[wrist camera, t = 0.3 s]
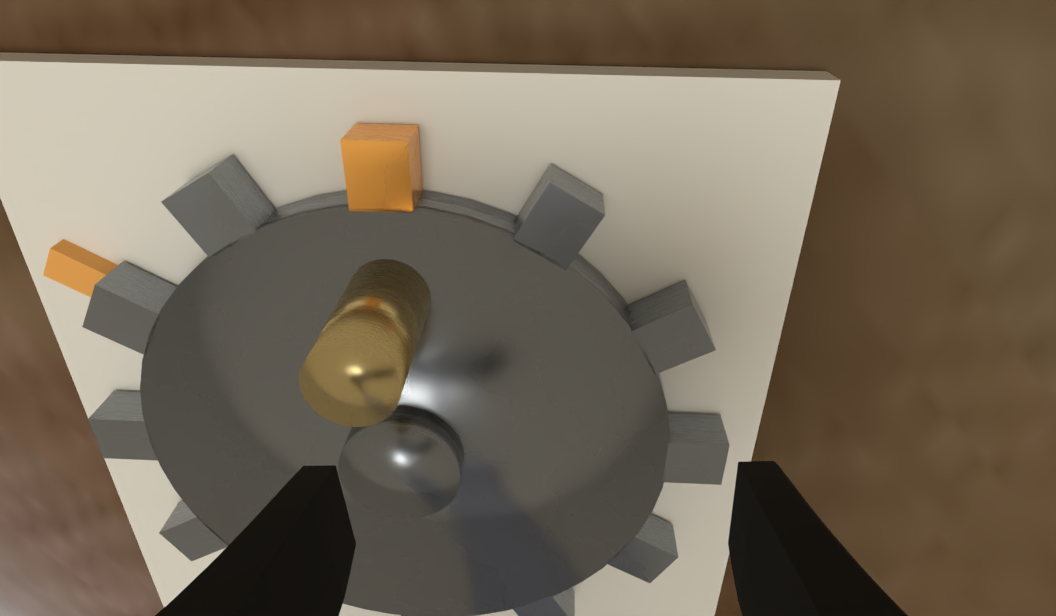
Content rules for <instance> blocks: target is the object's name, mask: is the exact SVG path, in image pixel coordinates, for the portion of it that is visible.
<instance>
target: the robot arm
mask: <svg viewBox="0 0 1056 616" xmlns="http://www.w3.org/2000/svg"><path fill="white" fill-rule="evenodd" d="M728 546H729V552H730V558H731V564H732V570H733V575H734V581H735V586H736V591H737V597H738V601H739V605H740V608H741V612H742V615H743V616H908V615H907V614H906V613H905V612H904V611H903V610H902V609H901V608H900V607H899V606H898V605H897V604H896V603H895V602H894V601H893V600H892V599H891V598H890V597H889V596H888V595H887V594H886V593H885V592H884V591H883V590H882V589H881V588H880V587H879V586H878V585H877V583H876V582H875V581H874V580H873V579H872V578H871V577H870V576H869V575H868V574H867V573H866V572H865V570H864V569H863V568H862V567H861V566H860V565H859V564H858V563H857V561H856V560H855V559H854V558H853V557H852V556H851V555H850V553H849V552H848V551H847V550H846V549H845V548H844V547H843V545H842V544H841V543H840V542H839V541H838V540H837V539H836V537H835V536H834V535H833V534H832V533H831V531H830V530H829V529H828V528H827V527H826V525H825V524H824V523H823V522H822V521H821V519H820V518H819V517H818V516H817V514H816V513H815V512H814V511H813V509H812V508H811V507H810V506H809V504H808V503H807V502H806V501H805V499H804V498H803V497H802V496H801V494H800V493H799V492H798V490H797V489H796V488H795V486H794V485H793V484H792V482H791V481H790V480H789V479H788V477H787V476H786V475H785V473H784V472H783V471H782V469H781V468H780V467H779V466H778V465H777V464H776V463H775V462H774V461H749V462H738V467H737V475H736V483H735V491H734V499H733V507H732V515H731V523H730V531H729V539H728ZM355 547H356V541H355V537H354V534H353V530H352V526H351V522H350V518H349V514H348V511H347V507H346V503H345V499H344V495H343V491H342V487H341V484H340V480H339V476H338V472H337V468H336V465H326V466H303V467H302V468H301V469H300V470H299V471H298V472H297V473H296V474H295V475H294V476H293V477H292V478H291V479H290V480H289V481H288V482H287V483H286V484H285V486H284V487H283V488H282V489H281V490H280V491H279V492H278V493H277V494H276V495H275V496H274V497H273V499H272V500H271V501H270V502H269V503H268V504H267V505H266V506H265V507H264V508H263V509H262V510H261V512H260V513H259V514H258V515H257V516H256V517H255V518H254V519H253V520H252V521H251V522H250V523H249V524H248V526H247V527H246V528H245V529H244V530H243V531H242V532H241V533H240V534H239V535H238V536H237V537H236V538H235V539H234V540H233V541H232V542H231V543H230V544H229V545H228V546H227V547H226V548H225V549H224V550H223V552H222V553H221V554H220V555H219V556H218V557H217V558H216V559H215V560H214V561H213V562H212V563H211V564H210V565H209V566H208V567H207V568H206V569H205V570H203V571H202V572H201V573H200V574H199V575H198V576H197V577H196V578H195V579H194V580H193V581H192V582H191V583H190V584H189V585H188V586H187V587H186V588H185V589H184V590H183V591H182V592H181V593H179V594H178V595H177V596H176V597H175V598H174V599H173V600H172V601H171V602H170V603H169V604H168V605H167V606H166V607H164V608H163V609H162V610H161V611H160V612H159V613H158V614H157V615H155V616H339V613H340V610H341V607H342V604H343V601H344V598H345V594H346V589H347V585H348V580H349V576H350V571H351V566H352V562H353V557H354V552H355Z"/></svg>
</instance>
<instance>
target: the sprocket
mask: <svg viewBox="0 0 1056 616" xmlns="http://www.w3.org/2000/svg"><path fill="white" fill-rule="evenodd" d="M340 143H341V151H342V159H343V167H344V174H345V182H346V191H340V192H334V193H328V194H322V195H316V196H313V197H310V198H307V199H303V200H300V201H297V202H294V203H290V204H287V205H284V206H281V207H279V208H277V209H275V208H274V207H273V206H272V205H271V203H270V202H269V201H268V200H267V198H266V197H265V196H264V194H263V193H262V192H261V191H260V189H259V188H258V187H257V186H256V184H255V183H254V182H253V180H252V179H251V178H250V177H249V175H248V174H247V173H246V171H245V170H244V169H243V168H242V166H241V165H240V164H239V163H238V161H237V160H236V159H235V157H234V156H233V155H232V154H231V155H230V156H228V157H227V158H225V159H223V160H222V161H220V162H219V163H217V164H215V165H214V166H212V167H210V168H209V169H207V170H206V171H204V172H202V173H201V174H199V175H197V176H196V177H194V178H193V179H191V180H189V181H188V182H186V183H185V184H184V185H182V186H181V187H180V188H178V189H177V190H176V191H174V192H173V193H172V194H171V195H169V196H168V197H167V198H165V199H164V200H163V201H161V202H162V204H163V205H164V206H165V207H166V208H167V209H168V211H169V212H170V213H171V214H172V215H173V216H174V217H175V219H176V220H177V221H178V222H179V223H180V224H181V226H182V227H183V228H184V229H185V230H186V231H187V233H188V234H189V235H190V236H191V237H192V238H193V239H194V241H195V242H196V243H197V244H198V245H199V246H200V248H201V249H202V250H203V251H204V252H205V253H206V255H207V257H206V258H204V259H203V260H202V261H201V262H200V263H199V264H198V265H197V266H196V267H195V268H194V269H193V270H192V272H191V273H190V274H189V275H188V276H187V277H186V278H185V279H184V280H183V281H182V282H181V283H180V284H179V285H178V286H177V287H176V286H174V285H172V284H170V283H168V282H166V281H164V280H162V279H160V278H158V277H156V276H153V275H151V274H149V273H147V272H145V271H143V270H141V269H139V268H137V267H135V266H133V265H130V264H128V263H126V262H124V261H123V262H122V263H120V264H119V265H118V266H117V267H116V268H114V269H113V270H112V271H111V272H109V273H108V274H107V275H106V276H105V277H103V278H102V279H101V280H100V281H99V282H97V283H96V284H95V286H94V289H93V293H92V296H91V299H90V303H89V306H88V309H87V313H86V316H85V319H84V322H83V326H82V327H83V328H85V329H88V330H90V331H92V332H94V333H96V334H99V335H101V336H103V337H105V338H108V339H110V340H112V341H114V342H116V343H119V344H121V345H123V346H125V347H127V348H130V349H132V350H134V351H136V352H139V353H141V354H143V355H144V356H143V359H142V369H141V382H140V392H130V391H113V392H112V393H111V394H110V395H109V396H108V398H107V399H106V400H105V401H104V402H103V403H102V404H101V405H100V406H99V407H98V409H97V410H96V411H95V412H94V413H93V414H92V415H91V416H90V417H89V418H88V420H89V423H90V425H91V428H92V430H93V433H94V435H95V438H96V440H97V443H98V445H99V448H100V450H101V453H102V455H103V458H110V459H133V460H156V461H158V462H159V464H160V466H161V468H162V470H163V471H164V473H165V475H166V476H167V478H168V480H169V481H170V483H171V485H172V486H173V488H174V490H175V491H176V492H177V494H178V495H179V496H180V497H181V499H182V500H183V501H180V502H178V504H177V506H176V507H175V509H174V510H173V512H172V513H171V515H170V517H169V518H168V520H167V521H166V523H165V524H164V526H163V528H162V529H161V531H160V532H159V534H161V535H162V536H163V537H164V538H165V539H166V540H167V541H169V542H170V543H171V544H172V545H173V546H174V547H176V548H177V549H178V550H179V551H180V552H181V553H182V554H184V555H185V556H186V557H187V558H188V559H189V560H190V561H194V560H197V559H199V558H202V557H204V556H206V555H209V554H211V553H214V552H216V551H219V550H221V549H224V548H226V547H227V546H228V545H229V544H230V543H231V542H232V541H233V540H234V539H235V538H236V537H237V536H238V535H239V534H240V533H241V532H242V531H243V530H244V529H245V528H246V527H247V526H248V524H249V523H250V522H251V521H252V520H253V519H254V518H255V517H256V516H257V515H258V514H259V513H260V512H261V510H262V509H263V508H264V507H265V506H266V505H267V504H268V503H269V502H270V501H271V500H272V499H273V497H274V496H275V495H276V494H277V493H278V492H279V491H280V490H281V489H282V488H283V487H284V486H285V484H286V483H287V482H288V481H289V480H290V479H291V478H292V477H293V476H294V475H295V474H296V473H297V472H298V471H299V470H300V469H301V468H302V467H303V466H326V465H336V468H337V472H338V476H339V480H340V484H341V487H342V491H343V495H344V499H345V503H346V507H347V511H348V514H349V518H350V522H351V526H352V530H353V534H354V537H355V541H356V547H355V552H354V557H353V562H352V566H351V571H350V576H349V580H348V585H347V589H346V594H345V598H344V601H343V604H346V605H350V606H354V607H358V608H362V609H365V610H371V611H377V612H382V613H388V614H394V615H401V616H476V615H484V614H490V613H496V612H502V611H507V610H511V609H513V610H514V611H515V612H516V614H517V615H518V616H575V592H574V590H573V589H572V588H571V587H573V586H575V585H577V584H579V583H581V582H583V581H584V580H586V579H587V578H589V577H590V576H592V575H593V574H595V573H596V572H598V571H599V570H601V569H602V568H604V567H605V566H606V565H607V564H608V565H610V566H612V567H615V568H617V569H619V570H621V571H623V572H626V573H628V574H630V575H632V576H634V577H637V578H639V579H641V580H643V581H646V582H648V583H651V582H652V581H653V580H654V579H655V578H657V577H658V576H659V575H660V574H661V573H662V572H663V571H664V570H665V569H666V568H667V567H668V566H670V565H671V564H672V563H673V562H674V561H675V560H676V559H677V558H678V552H677V546H676V540H675V534H674V528H673V524H671V523H669V522H667V521H664V520H662V519H660V518H658V517H656V516H654V515H652V514H651V513H652V511H653V509H654V507H655V504H656V502H657V500H658V497H659V495H660V493H661V490H662V488H663V484H664V482H668V483H691V484H714V485H721V484H722V479H723V474H724V470H725V465H726V460H727V456H728V451H729V446H730V445H729V441H728V438H727V435H726V431H725V428H724V425H723V421H722V418H721V415H711V414H686V413H668V409H667V404H666V399H665V394H664V389H663V384H662V379H661V375H660V373H661V372H663V371H666V370H668V369H670V368H673V367H675V366H678V365H680V364H683V363H685V362H688V361H690V360H693V359H695V358H698V357H700V356H703V355H705V354H708V353H710V352H713V351H715V350H716V348H715V345H714V342H713V339H712V336H711V333H710V330H709V327H708V324H707V322H706V320H705V318H704V316H703V314H702V312H701V310H700V308H699V306H698V304H697V302H696V300H695V298H694V296H693V294H692V292H691V290H690V288H689V286H688V284H687V282H686V280H683V281H681V282H679V283H677V284H674V285H672V286H670V287H667V288H665V289H663V290H661V291H658V292H656V293H654V294H651V295H649V296H647V297H645V298H642V299H640V300H638V301H636V302H633V303H631V304H629V305H628V304H627V303H626V301H625V300H624V298H623V297H622V296H621V295H620V294H619V293H618V291H617V290H616V289H615V288H614V287H613V286H612V285H611V284H610V282H609V281H608V280H607V279H606V278H605V277H604V276H603V275H602V273H600V272H599V271H598V270H597V269H596V268H595V267H593V266H592V265H591V264H590V263H589V262H588V261H586V260H585V259H584V258H583V257H582V256H581V255H579V254H578V253H579V252H580V250H581V249H582V247H583V246H584V245H585V243H586V242H587V240H588V239H589V238H590V236H591V235H592V233H593V232H594V230H595V229H596V228H597V226H598V225H599V223H600V222H601V221H602V219H603V218H604V216H605V207H604V199H603V194H602V193H600V192H599V191H597V190H595V189H594V188H592V187H590V186H589V185H587V184H585V183H584V182H582V181H580V180H579V179H577V178H575V177H574V176H572V175H570V174H568V173H567V172H565V171H563V170H562V169H560V168H558V167H557V166H555V165H553V164H552V163H551V164H550V165H549V167H548V168H547V170H546V171H545V173H544V174H543V176H542V178H541V179H540V181H539V182H538V184H537V185H536V187H535V189H534V190H533V192H532V193H531V195H530V196H529V198H528V200H527V201H526V203H525V204H524V206H523V207H522V209H521V210H520V212H519V214H518V215H517V217H516V216H514V215H512V214H510V213H508V212H505V211H502V210H499V209H496V208H493V207H490V206H487V205H485V204H482V203H479V202H476V201H473V200H470V199H465V198H460V197H456V196H451V195H446V194H442V193H437V192H432V191H423V183H422V169H421V154H420V139H419V125H406V124H368V123H355V124H354V125H353V127H352V128H351V129H350V130H349V131H348V132H347V133H346V134H345V135H344V136H343V137H342V139H341V140H340Z"/></svg>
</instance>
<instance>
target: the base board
mask: <svg viewBox="0 0 1056 616" xmlns="http://www.w3.org/2000/svg"><path fill="white" fill-rule="evenodd" d="M840 81H841V80H839V79H838V78H836V77H835V76H833V75H832V74H830V73H829V72H828V71H795V70H752V69H708V68H664V67H620V66H576V65H532V64H488V63H444V62H400V61H356V60H312V59H268V58H224V57H180V56H136V55H92V54H48V53H4V52H0V198H1V201H2V203H3V206H4V208H5V211H6V213H7V216H8V218H9V221H10V223H11V226H12V228H13V231H14V233H15V236H16V238H17V241H18V243H19V246H20V248H21V251H22V253H23V256H24V258H25V261H26V263H27V266H28V268H29V271H30V273H31V276H32V278H33V281H34V283H35V286H36V288H37V291H38V293H39V296H40V298H41V301H42V303H43V306H44V308H45V311H46V313H47V316H48V318H49V321H50V323H51V326H52V328H53V331H54V333H55V336H56V338H57V341H58V343H59V346H60V348H61V351H62V353H63V356H64V358H65V361H66V363H67V366H68V368H69V371H70V373H71V376H72V378H73V381H74V384H75V386H76V389H77V391H78V394H79V396H80V399H81V401H82V404H83V406H84V409H85V411H86V414H87V416H88V418H89V417H90V416H91V415H92V414H93V413H94V412H95V411H96V410H97V409H98V407H99V406H100V405H101V404H102V403H103V402H104V401H105V400H106V399H107V398H108V396H109V395H110V394H111V393H112V392H113V391H130V392H140V382H141V369H142V359H143V356H144V355H143V354H141V353H139V352H136V351H134V350H132V349H130V348H127V347H125V346H123V345H121V344H119V343H116V342H114V341H112V340H110V339H108V338H105V337H103V336H101V335H99V334H96V333H94V332H92V331H90V330H88V329H85V328H83V327H82V326H83V322H84V319H85V316H86V313H87V309H88V306H89V303H90V299H91V296H92V293H93V289H94V286H95V284H96V283H97V282H99V281H100V280H101V279H102V278H103V277H105V276H106V275H107V274H108V273H109V272H111V271H112V270H113V269H114V268H116V267H117V266H118V265H119V264H120V263H122V262H123V261H124V262H126V263H128V264H130V265H133V266H135V267H137V268H139V269H141V270H143V271H145V272H147V273H149V274H151V275H153V276H156V277H158V278H160V279H162V280H164V281H166V282H168V283H170V284H172V285H174V286H176V287H177V286H178V285H179V284H180V283H181V282H182V281H183V280H184V279H185V278H186V277H187V276H188V275H189V274H190V273H191V272H192V270H193V269H194V268H195V267H196V266H197V265H198V264H199V263H200V262H201V261H202V260H203V259H204V258H206V257H207V255H206V253H205V252H204V251H203V250H202V249H201V248H200V246H199V245H198V244H197V243H196V242H195V241H194V239H193V238H192V237H191V236H190V235H189V234H188V233H187V231H186V230H185V229H184V228H183V227H182V226H181V224H180V223H179V222H178V221H177V220H176V219H175V217H174V216H173V215H172V214H171V213H170V212H169V211H168V209H167V208H166V207H165V206H164V205H163V204H162V202H161V201H163V200H164V199H165V198H167V197H168V196H169V195H171V194H172V193H173V192H174V191H176V190H177V189H178V188H180V187H181V186H182V185H184V184H185V183H186V182H188V181H189V180H191V179H193V178H194V177H196V176H197V175H199V174H201V173H202V172H204V171H206V170H207V169H209V168H210V167H212V166H214V165H215V164H217V163H219V162H220V161H222V160H223V159H225V158H227V157H228V156H230V155H231V154H232V155H233V156H234V157H235V159H236V160H237V161H238V163H239V164H240V165H241V166H242V168H243V169H244V170H245V171H246V173H247V174H248V175H249V177H250V178H251V179H252V180H253V182H254V183H255V184H256V186H257V187H258V188H259V189H260V191H261V192H262V193H263V194H264V196H265V197H266V198H267V200H268V201H269V202H270V203H271V205H272V206H273V207H274V208H275V209H277V208H279V207H281V206H284V205H287V204H290V203H294V202H297V201H300V200H303V199H307V198H310V197H313V196H316V195H322V194H328V193H334V192H340V191H346V182H345V174H344V167H343V159H342V151H341V143H340V140H341V139H342V137H343V136H344V135H345V134H346V133H347V132H348V131H349V130H350V129H351V128H352V127H353V125H354V124H355V123H368V124H406V125H419V139H420V154H421V169H422V183H423V191H432V192H437V193H442V194H446V195H451V196H456V197H460V198H465V199H470V200H473V201H476V202H479V203H482V204H485V205H487V206H490V207H493V208H496V209H499V210H502V211H505V212H508V213H510V214H512V215H514V216H516V217H517V215H518V214H519V212H520V210H521V209H522V207H523V206H524V204H525V203H526V201H527V200H528V198H529V196H530V195H531V193H532V192H533V190H534V189H535V187H536V185H537V184H538V182H539V181H540V179H541V178H542V176H543V174H544V173H545V171H546V170H547V168H548V167H549V165H550V164H551V163H552V164H553V165H555V166H557V167H558V168H560V169H562V170H563V171H565V172H567V173H568V174H570V175H572V176H574V177H575V178H577V179H579V180H580V181H582V182H584V183H585V184H587V185H589V186H590V187H592V188H594V189H595V190H597V191H599V192H600V193H602V194H603V199H604V207H605V216H604V218H603V219H602V221H601V222H600V223H599V225H598V226H597V228H596V229H595V230H594V232H593V233H592V235H591V236H590V238H589V239H588V240H587V242H586V243H585V245H584V246H583V247H582V249H581V250H580V252H579V253H578V254H579V255H581V256H582V257H583V258H584V259H585V260H586V261H588V262H589V263H590V264H591V265H592V266H593V267H595V268H596V269H597V270H598V271H599V272H600V273H602V275H603V276H604V277H605V278H606V279H607V280H608V281H609V282H610V284H611V285H612V286H613V287H614V288H615V289H616V290H617V291H618V293H619V294H620V295H621V296H622V297H623V298H624V300H625V301H626V303H627V304H628V305H629V304H631V303H633V302H636V301H638V300H640V299H642V298H645V297H647V296H649V295H651V294H654V293H656V292H658V291H661V290H663V289H665V288H667V287H670V286H672V285H674V284H677V283H679V282H681V281H683V280H686V282H687V284H688V286H689V288H690V290H691V292H692V294H693V296H694V298H695V300H696V302H697V304H698V306H699V308H700V310H701V312H702V314H703V316H704V318H705V320H706V322H707V324H708V327H709V330H710V333H711V336H712V339H713V342H714V345H715V348H716V350H715V351H713V352H710V353H708V354H705V355H703V356H700V357H698V358H695V359H693V360H690V361H688V362H685V363H683V364H680V365H678V366H675V367H673V368H670V369H668V370H666V371H663V372H661V373H660V375H661V379H662V384H663V389H664V394H665V399H666V404H667V409H668V413H686V414H711V415H721V418H722V421H723V425H724V428H725V431H726V435H727V438H728V441H729V445H730V446H729V451H728V456H727V460H726V465H725V470H724V474H723V479H722V484H721V485H714V484H691V483H668V482H664V484H663V488H662V490H661V493H660V495H659V497H658V500H657V502H656V504H655V507H654V509H653V511H652V513H651V514H652V515H654V516H656V517H658V518H660V519H662V520H664V521H667V522H669V523H671V524H673V528H674V534H675V540H676V546H677V552H678V558H677V559H676V560H675V561H674V562H673V563H672V564H671V565H670V566H668V567H667V568H666V569H665V570H664V571H663V572H662V573H661V574H660V575H659V576H658V577H657V578H655V579H654V580H653V581H652V582H651V583H648V582H646V581H643V580H641V579H639V578H637V577H634V576H632V575H630V574H628V573H626V572H623V571H621V570H619V569H617V568H615V567H612V566H610V565H608V564H607V565H606V566H605V567H604V568H602V569H601V570H599V571H598V572H596V573H595V574H593V575H592V576H590V577H589V578H587V579H586V580H584V581H583V582H581V583H579V584H577V585H575V586H573V587H571V588H572V589H573V590H574V592H575V616H715V611H716V607H717V603H718V599H719V594H720V590H721V586H722V582H723V577H724V573H725V569H726V565H727V560H728V556H729V546H728V539H729V531H730V523H731V515H732V507H733V499H734V491H735V483H736V475H737V467H738V462H749V461H751V459H752V454H753V450H754V446H755V442H756V437H757V433H758V429H759V425H760V420H761V416H762V412H763V408H764V403H765V399H766V395H767V391H768V386H769V382H770V378H771V374H772V369H773V365H774V361H775V357H776V352H777V348H778V344H779V340H780V336H781V331H782V327H783V323H784V319H785V314H786V310H787V306H788V302H789V297H790V293H791V289H792V285H793V280H794V276H795V272H796V268H797V263H798V259H799V255H800V251H801V246H802V242H803V238H804V234H805V229H806V225H807V221H808V217H809V212H810V208H811V204H812V200H813V196H814V191H815V187H816V183H817V179H818V174H819V170H820V166H821V162H822V157H823V153H824V149H825V145H826V140H827V136H828V132H829V128H830V123H831V119H832V115H833V111H834V106H835V102H836V98H837V94H838V89H839V85H840ZM104 459H105V461H106V464H107V466H108V469H109V471H110V474H111V476H112V479H113V481H114V484H115V486H116V489H117V491H118V494H119V496H120V499H121V501H122V504H123V506H124V509H125V511H126V514H127V516H128V519H129V521H130V524H131V526H132V529H133V531H134V534H135V536H136V539H137V541H138V544H139V546H140V549H141V551H142V554H143V556H144V559H145V561H146V564H147V566H148V569H149V571H150V574H151V576H152V579H153V581H154V584H155V586H156V589H157V591H158V594H159V596H160V599H161V601H162V604H163V606H164V607H166V606H167V605H168V604H169V603H170V602H171V601H172V600H173V599H174V598H175V597H176V596H177V595H178V594H179V593H181V592H182V591H183V590H184V589H185V588H186V587H187V586H188V585H189V584H190V583H191V582H192V581H193V580H194V579H195V578H196V577H197V576H198V575H199V574H200V573H201V572H202V571H203V570H205V569H206V568H207V567H208V566H209V565H210V564H211V563H212V562H213V561H214V560H215V559H216V558H217V557H218V556H219V555H220V554H221V553H222V552H223V550H224V549H225V548H224V549H221V550H219V551H216V552H214V553H211V554H209V555H206V556H204V557H202V558H199V559H197V560H194V561H190V560H189V559H188V558H187V557H186V556H185V555H184V554H182V553H181V552H180V551H179V550H178V549H177V548H176V547H174V546H173V545H172V544H171V543H170V542H169V541H167V540H166V539H165V538H164V537H163V536H162V535H161V534H159V532H160V531H161V529H162V528H163V526H164V524H165V523H166V521H167V520H168V518H169V517H170V515H171V513H172V512H173V510H174V509H175V507H176V506H177V504H178V502H180V501H183V500H182V499H181V497H180V496H179V495H178V494H177V492H176V491H175V490H174V488H173V486H172V485H171V483H170V481H169V480H168V478H167V476H166V475H165V473H164V471H163V470H162V468H161V466H160V464H159V462H158V461H156V460H133V459H110V458H104ZM339 616H401V615H394V614H388V613H382V612H377V611H371V610H365V609H362V608H358V607H354V606H350V605H346V604H342V607H341V610H340V613H339ZM476 616H518V615H517V614H516V612H515V611H514V610H513V609H511V610H507V611H502V612H496V613H490V614H484V615H476Z"/></svg>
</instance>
